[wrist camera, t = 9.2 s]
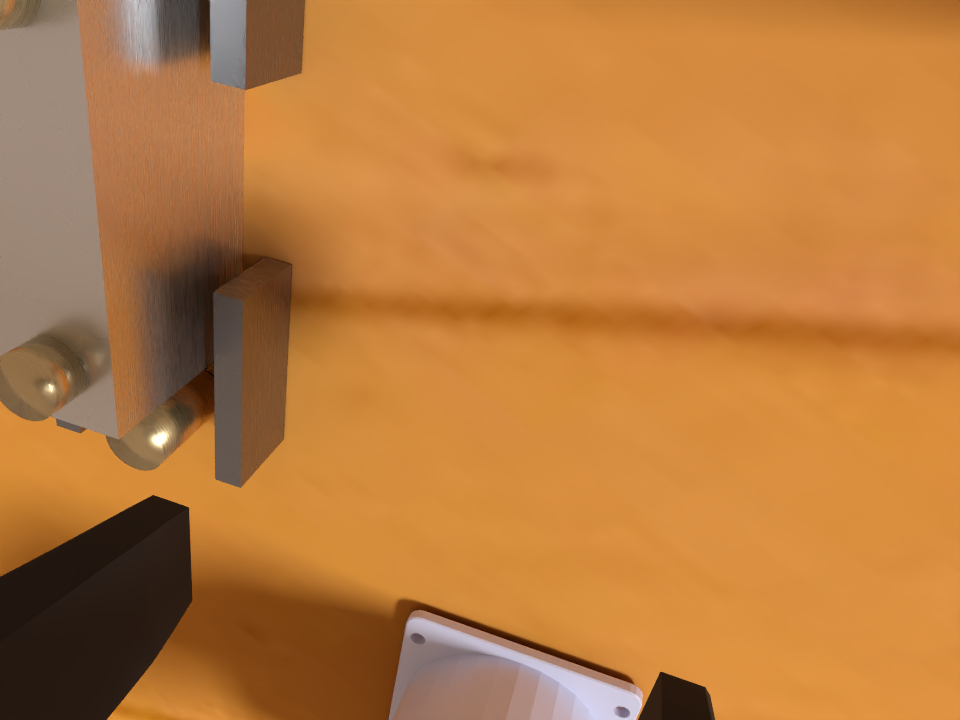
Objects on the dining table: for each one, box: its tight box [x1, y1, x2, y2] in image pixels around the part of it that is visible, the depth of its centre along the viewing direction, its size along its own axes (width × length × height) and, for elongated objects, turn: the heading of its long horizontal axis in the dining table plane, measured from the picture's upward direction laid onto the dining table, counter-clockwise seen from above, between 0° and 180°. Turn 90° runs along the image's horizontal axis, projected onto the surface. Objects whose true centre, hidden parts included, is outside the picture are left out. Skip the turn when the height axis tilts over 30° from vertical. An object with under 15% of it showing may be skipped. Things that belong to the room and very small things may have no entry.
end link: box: [56, 257, 292, 488], centre depth 21 cm, size 6×6×3 cm
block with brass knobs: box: [0, 0, 245, 439], centre depth 17 cm, size 11×3×6 cm, turn 170°
